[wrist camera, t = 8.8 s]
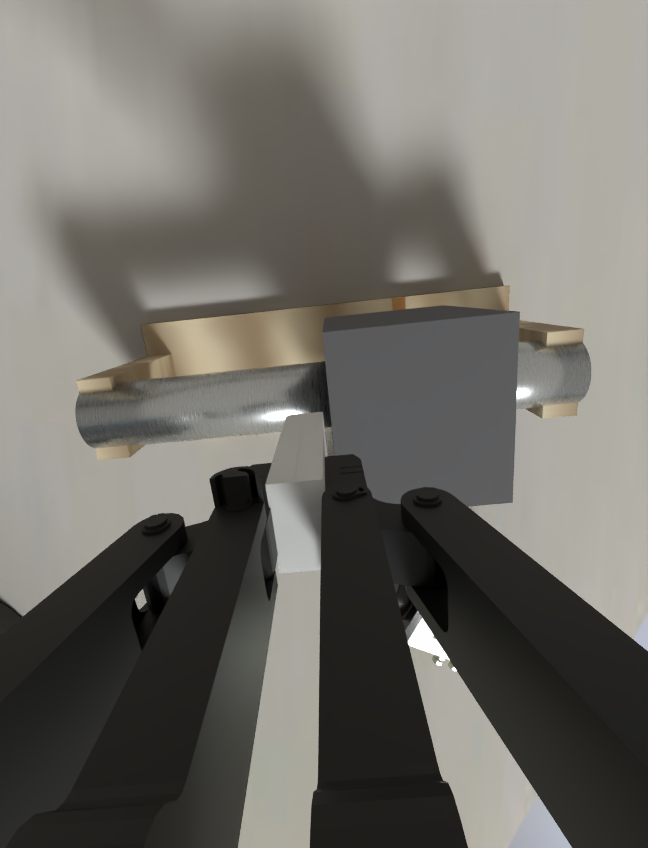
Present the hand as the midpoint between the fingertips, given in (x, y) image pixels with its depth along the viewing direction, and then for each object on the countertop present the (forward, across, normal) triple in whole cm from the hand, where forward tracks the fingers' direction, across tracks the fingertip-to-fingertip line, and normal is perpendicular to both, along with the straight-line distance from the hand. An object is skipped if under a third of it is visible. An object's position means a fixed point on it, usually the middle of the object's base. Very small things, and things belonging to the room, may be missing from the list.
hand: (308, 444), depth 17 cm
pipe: (+10, +1, 0) cm, 10 cm away
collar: (+13, +5, 0) cm, 14 cm away
